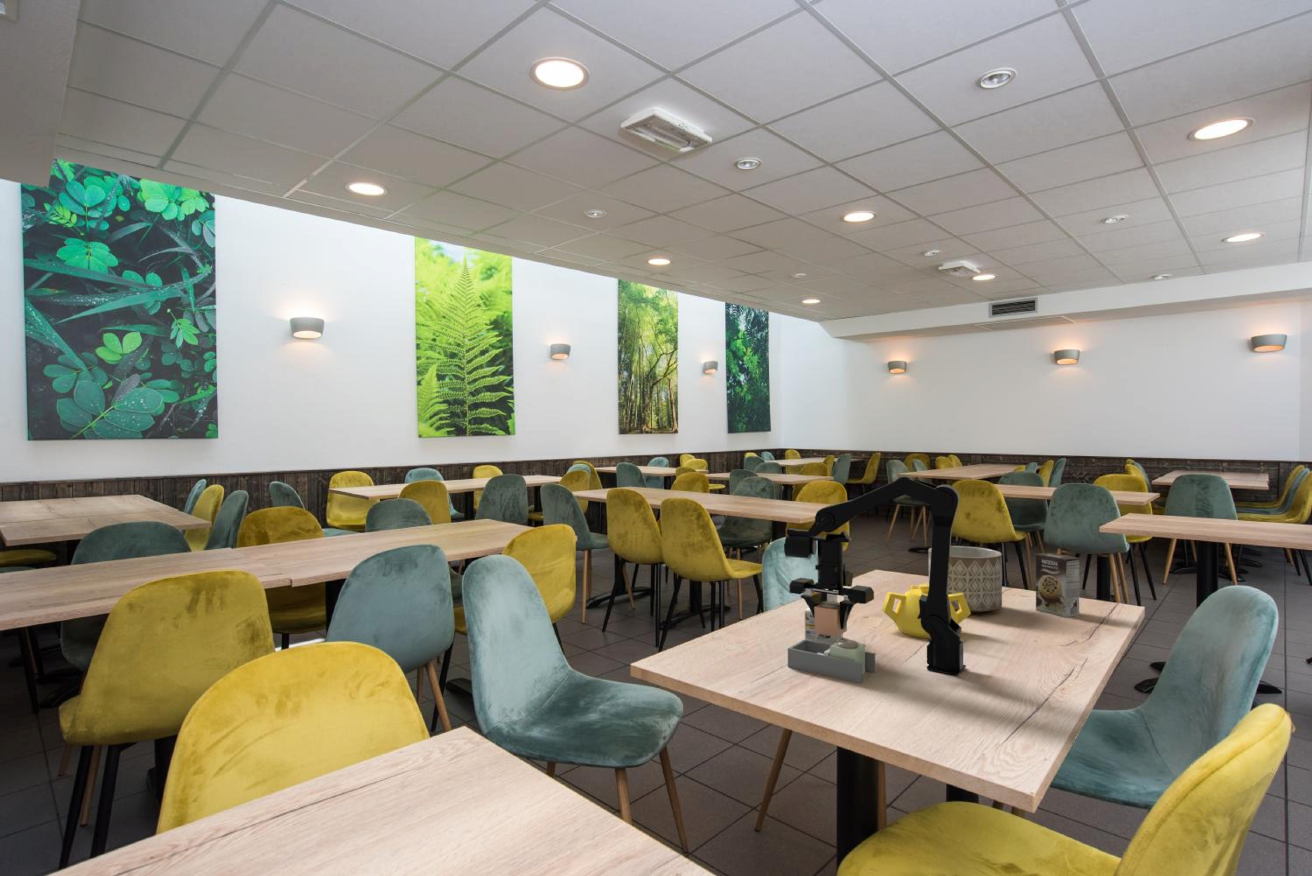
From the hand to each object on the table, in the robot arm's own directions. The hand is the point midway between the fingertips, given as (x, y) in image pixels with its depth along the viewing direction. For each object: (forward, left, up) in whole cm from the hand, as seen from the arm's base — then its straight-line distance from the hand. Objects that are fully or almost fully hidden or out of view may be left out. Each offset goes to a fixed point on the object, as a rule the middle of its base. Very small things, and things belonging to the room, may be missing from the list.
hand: (830, 627), depth 157 cm
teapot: (-12, -31, -6) cm, 34 cm away
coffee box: (-36, -71, -6) cm, 80 cm away
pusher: (-3, +10, -6) cm, 12 cm away
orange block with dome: (0, 0, -1) cm, 1 cm away
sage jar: (-8, +10, -6) cm, 14 cm away
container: (+6, -9, -6) cm, 12 cm away
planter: (-14, -61, -6) cm, 63 cm away
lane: (-5, +10, -6) cm, 13 cm away
